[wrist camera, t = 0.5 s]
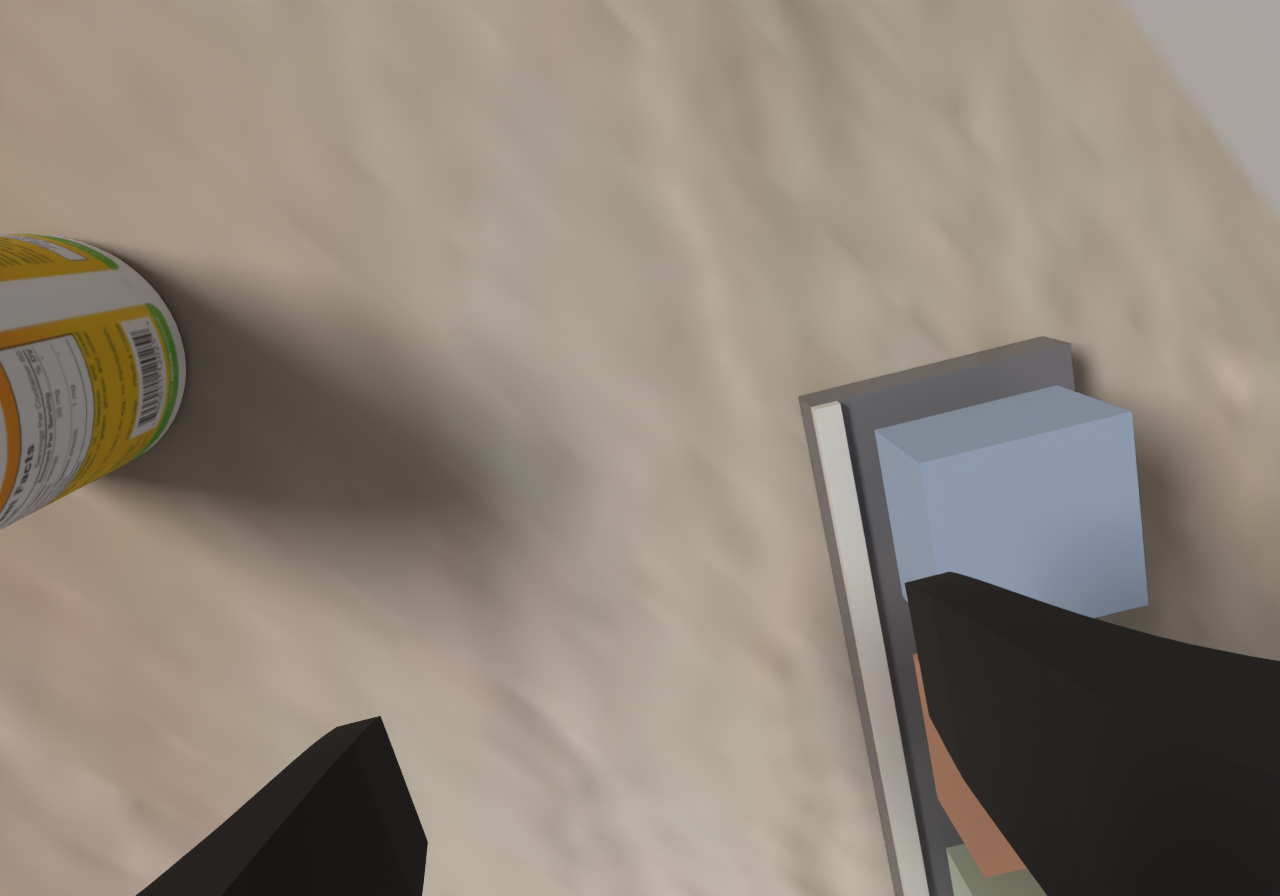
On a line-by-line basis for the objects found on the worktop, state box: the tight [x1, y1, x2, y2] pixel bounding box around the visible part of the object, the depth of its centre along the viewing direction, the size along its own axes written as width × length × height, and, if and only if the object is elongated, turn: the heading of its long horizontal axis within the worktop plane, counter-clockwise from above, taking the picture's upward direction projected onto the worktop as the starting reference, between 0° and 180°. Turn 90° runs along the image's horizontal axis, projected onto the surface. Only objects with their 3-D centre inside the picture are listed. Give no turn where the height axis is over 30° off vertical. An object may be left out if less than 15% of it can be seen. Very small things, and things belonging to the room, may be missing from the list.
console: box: [799, 337, 1099, 896], centre depth 22 cm, size 16×6×2 cm, turn 14°
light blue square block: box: [874, 385, 1149, 618], centre depth 17 cm, size 4×4×3 cm
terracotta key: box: [913, 654, 1027, 878], centre depth 19 cm, size 4×4×3 cm
